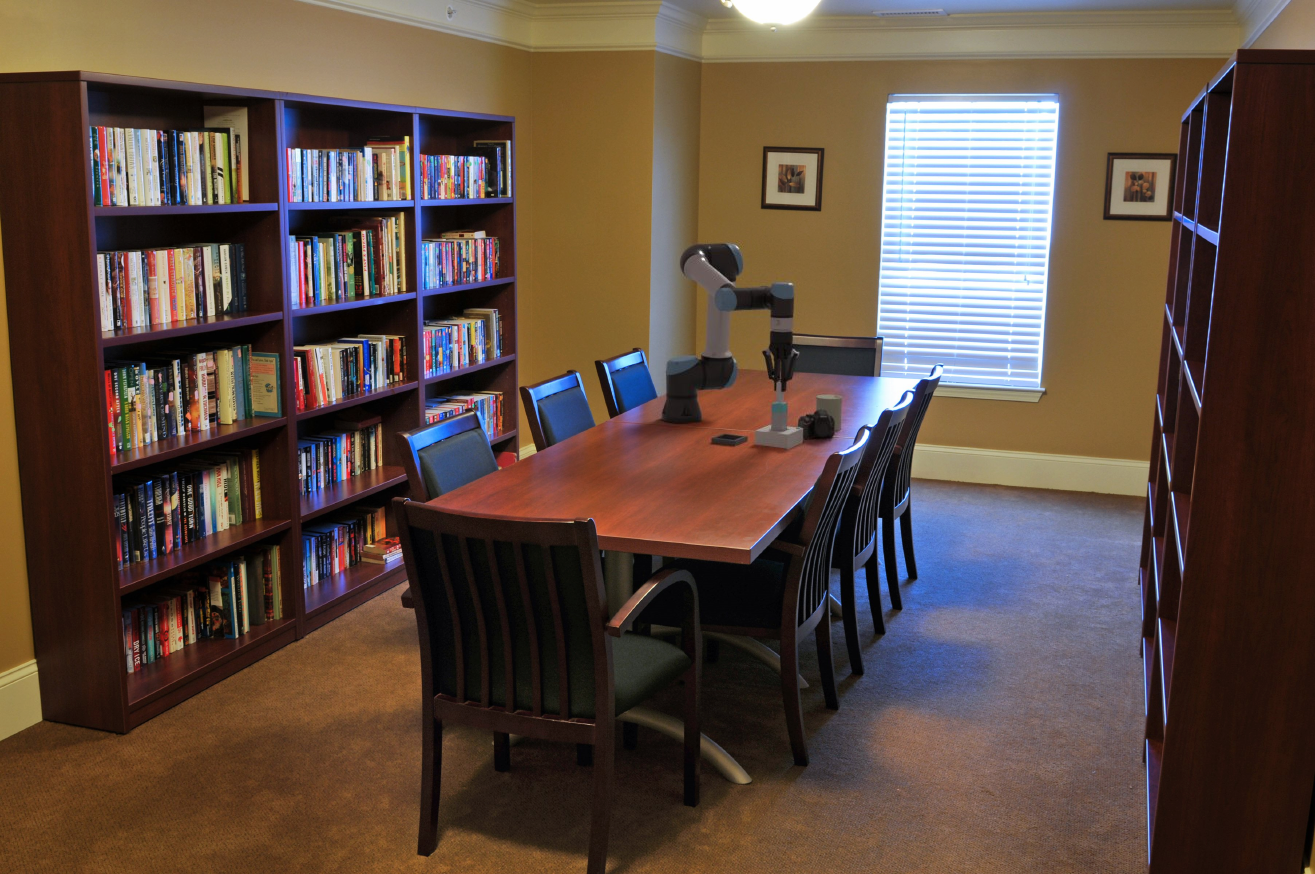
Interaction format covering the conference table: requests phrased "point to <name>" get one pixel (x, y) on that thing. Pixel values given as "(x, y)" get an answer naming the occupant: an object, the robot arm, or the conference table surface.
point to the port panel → (779, 437)
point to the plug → (779, 416)
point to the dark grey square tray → (729, 439)
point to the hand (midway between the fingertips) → (779, 401)
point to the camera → (817, 425)
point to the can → (831, 407)
